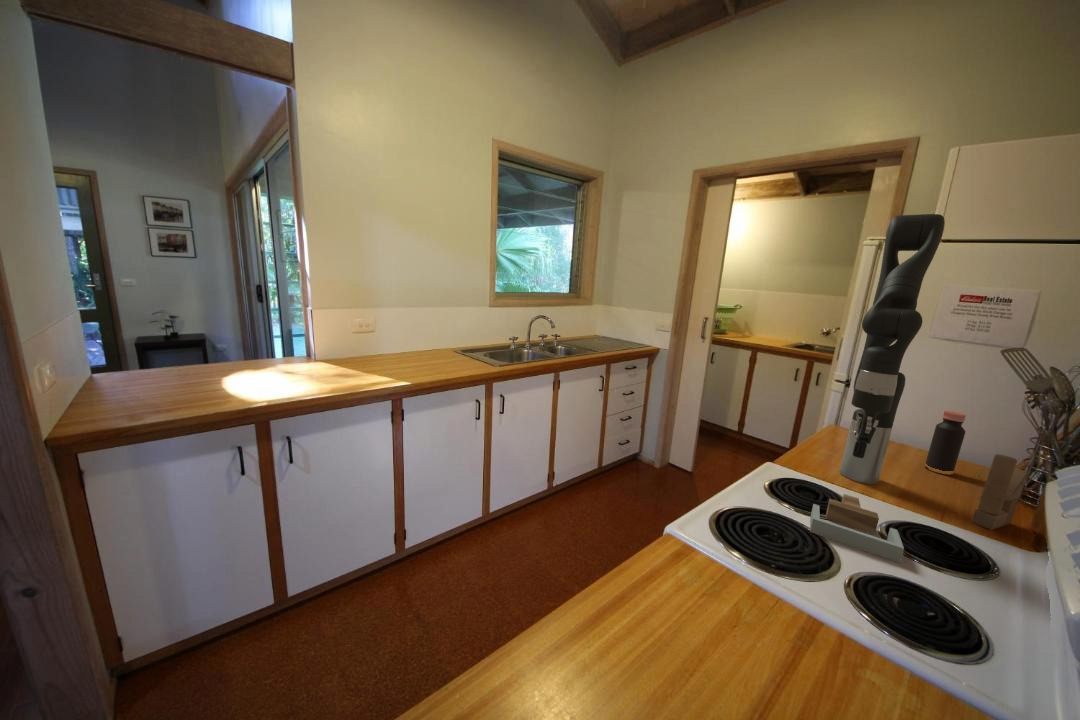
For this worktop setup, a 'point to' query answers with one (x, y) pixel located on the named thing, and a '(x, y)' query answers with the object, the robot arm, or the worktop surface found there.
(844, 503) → the t block
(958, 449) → the bottle
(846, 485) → the worktop surface
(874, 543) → the bracket
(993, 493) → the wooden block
